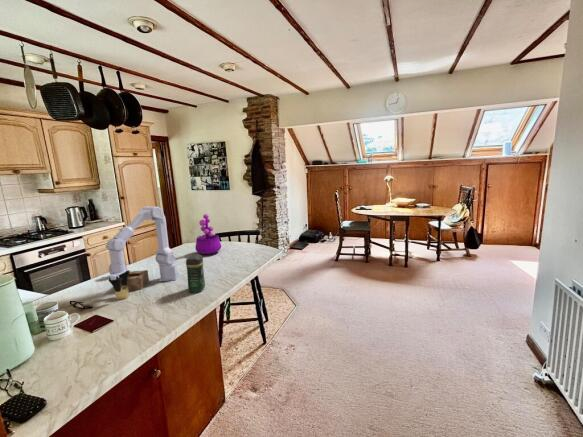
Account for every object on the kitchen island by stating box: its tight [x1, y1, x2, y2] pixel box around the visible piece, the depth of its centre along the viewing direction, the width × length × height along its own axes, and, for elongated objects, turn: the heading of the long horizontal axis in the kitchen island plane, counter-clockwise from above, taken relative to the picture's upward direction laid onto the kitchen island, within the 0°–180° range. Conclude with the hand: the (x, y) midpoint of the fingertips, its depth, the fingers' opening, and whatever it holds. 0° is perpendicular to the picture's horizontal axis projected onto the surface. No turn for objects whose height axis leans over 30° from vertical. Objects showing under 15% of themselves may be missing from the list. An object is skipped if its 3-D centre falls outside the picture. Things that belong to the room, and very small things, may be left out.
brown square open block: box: [121, 269, 150, 291], centre depth 160 cm, size 12×12×6 cm
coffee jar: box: [185, 253, 206, 294], centre depth 152 cm, size 10×8×19 cm
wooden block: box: [114, 287, 130, 300], centre depth 146 cm, size 5×3×5 cm, turn 99°
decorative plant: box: [195, 213, 222, 255], centre depth 217 cm, size 19×18×30 cm
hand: (121, 288), depth 145 cm, fingers open, 7 cm apart
